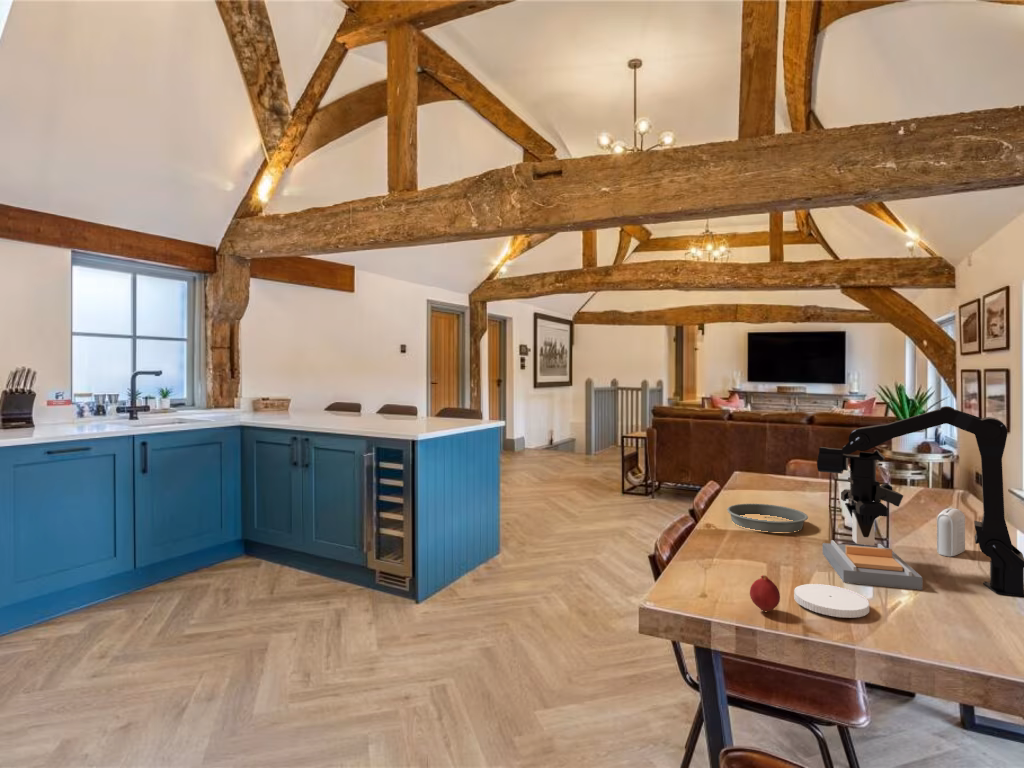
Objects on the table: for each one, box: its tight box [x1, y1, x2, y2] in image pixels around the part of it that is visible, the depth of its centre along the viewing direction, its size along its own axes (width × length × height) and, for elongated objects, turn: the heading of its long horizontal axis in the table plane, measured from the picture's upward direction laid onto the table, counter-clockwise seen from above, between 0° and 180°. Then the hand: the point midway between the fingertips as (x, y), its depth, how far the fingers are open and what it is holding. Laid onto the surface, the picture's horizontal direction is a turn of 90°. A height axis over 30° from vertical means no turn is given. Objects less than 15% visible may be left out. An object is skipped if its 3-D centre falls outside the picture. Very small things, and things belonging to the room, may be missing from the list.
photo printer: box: [936, 507, 966, 558], centre depth 150 cm, size 10×4×12 cm, turn 123°
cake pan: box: [726, 503, 809, 533], centre depth 180 cm, size 25×25×4 cm
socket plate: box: [822, 539, 923, 591], centre depth 137 cm, size 22×16×4 cm
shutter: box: [845, 544, 903, 571], centre depth 133 cm, size 8×10×3 cm
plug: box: [851, 510, 875, 546], centre depth 141 cm, size 4×4×8 cm
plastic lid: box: [793, 583, 870, 619], centre depth 116 cm, size 14×14×2 cm
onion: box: [749, 574, 781, 612], centre depth 114 cm, size 6×6×8 cm
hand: (863, 534), depth 141 cm, fingers closed on plug, 4 cm apart
